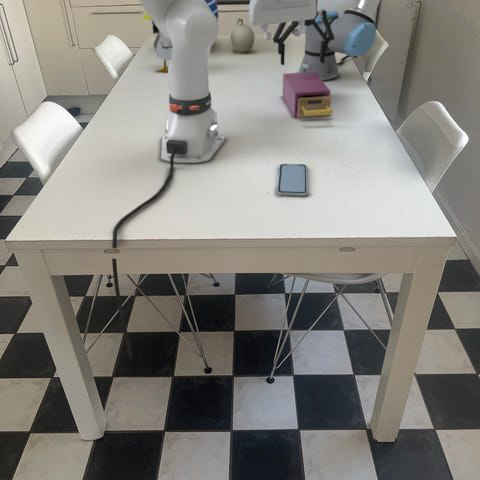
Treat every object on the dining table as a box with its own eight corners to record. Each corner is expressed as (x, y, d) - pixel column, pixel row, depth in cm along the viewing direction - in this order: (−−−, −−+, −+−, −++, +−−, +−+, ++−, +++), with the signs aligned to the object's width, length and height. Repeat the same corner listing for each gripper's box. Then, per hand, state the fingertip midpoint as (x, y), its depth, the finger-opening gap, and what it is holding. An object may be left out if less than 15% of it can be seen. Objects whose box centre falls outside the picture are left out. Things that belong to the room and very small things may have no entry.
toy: (155, 65, 218) (148, 2, 203) (198, 69, 211) (194, 5, 197) (145, 70, 212) (137, 6, 198) (190, 75, 205) (185, 9, 191)
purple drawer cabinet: (328, 115, 168) (330, 90, 164) (294, 117, 167) (295, 93, 163) (313, 94, 185) (315, 71, 180) (282, 96, 184) (283, 73, 179)
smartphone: (277, 192, 126) (279, 163, 138) (277, 196, 127) (279, 166, 139) (307, 193, 125) (307, 164, 137) (307, 196, 126) (306, 167, 138)
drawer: (334, 122, 161) (335, 103, 157) (302, 125, 160) (303, 106, 156) (315, 96, 180) (316, 78, 177) (286, 97, 180) (287, 80, 176)
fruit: (247, 46, 238) (247, 12, 230) (258, 52, 229) (258, 17, 221) (227, 49, 235) (225, 14, 226) (236, 55, 226) (235, 19, 218)
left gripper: (312, -18, 151) (310, 31, 159) (246, -12, 146) (247, 39, 154) (321, -15, 146) (318, 36, 154) (253, -8, 141) (254, 44, 150)
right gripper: (341, -10, 165) (335, 58, 178) (264, -7, 163) (263, 61, 175) (348, -6, 159) (341, 64, 171) (268, -3, 157) (267, 68, 169)
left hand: (282, 37), depth 154 cm, fingers open, 8 cm apart
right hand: (302, 63), depth 173 cm, fingers open, 13 cm apart
